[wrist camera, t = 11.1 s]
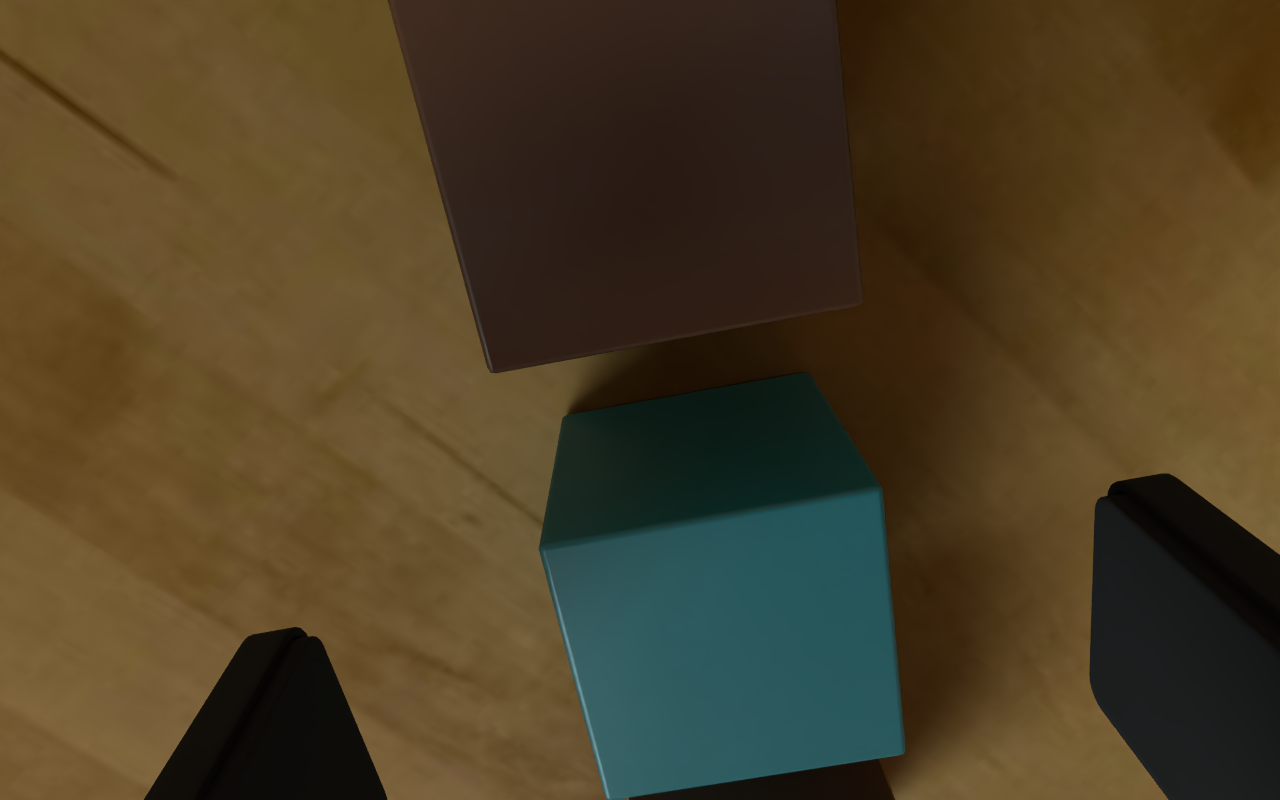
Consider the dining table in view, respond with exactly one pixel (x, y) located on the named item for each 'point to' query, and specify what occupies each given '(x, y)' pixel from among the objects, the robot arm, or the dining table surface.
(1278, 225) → the dining table surface
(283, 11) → the dining table surface
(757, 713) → the teal block
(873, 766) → the walnut block
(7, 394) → the dining table surface
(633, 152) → the walnut block
